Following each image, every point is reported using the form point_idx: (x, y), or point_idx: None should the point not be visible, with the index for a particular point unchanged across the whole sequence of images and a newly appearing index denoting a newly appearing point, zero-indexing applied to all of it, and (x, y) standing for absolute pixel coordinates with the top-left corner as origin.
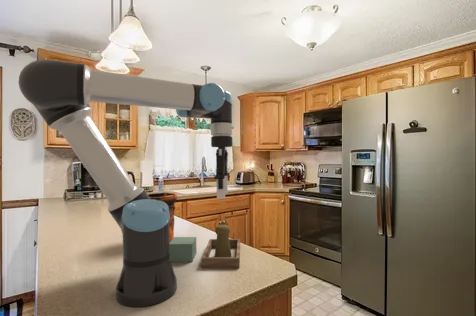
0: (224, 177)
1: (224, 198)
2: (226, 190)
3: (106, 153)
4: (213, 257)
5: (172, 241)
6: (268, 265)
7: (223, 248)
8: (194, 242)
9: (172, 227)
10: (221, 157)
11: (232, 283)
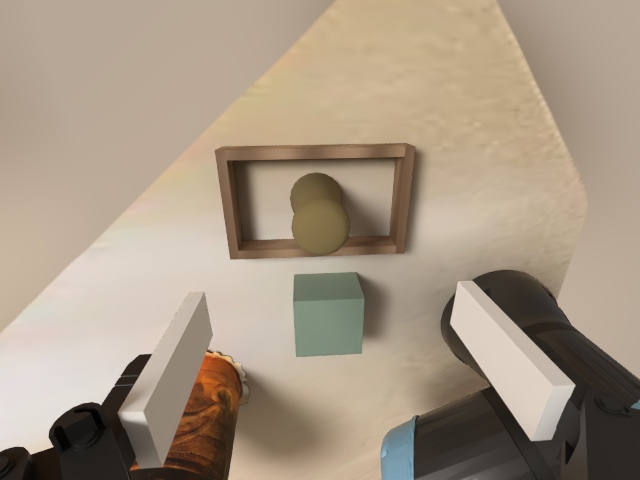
0: (615, 399)
1: (473, 284)
2: (200, 310)
3: None
4: (400, 223)
5: (339, 351)
6: (396, 43)
7: (341, 203)
8: (325, 295)
9: (194, 389)
10: None
11: (494, 157)
